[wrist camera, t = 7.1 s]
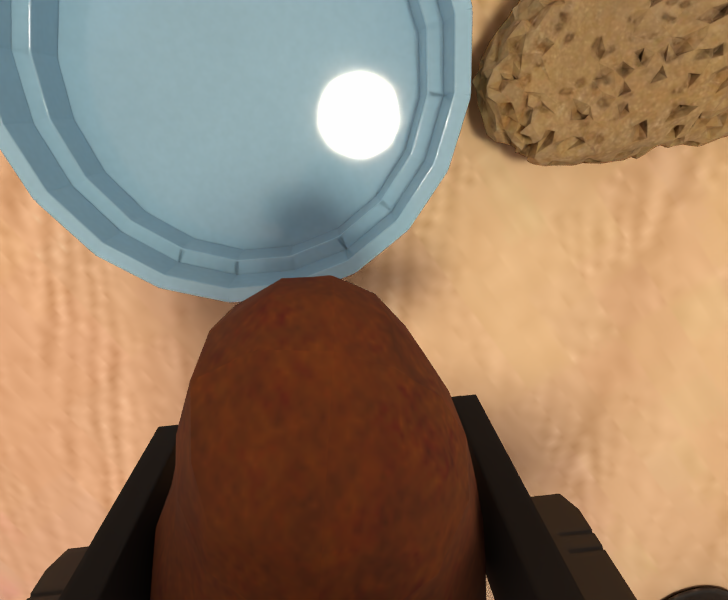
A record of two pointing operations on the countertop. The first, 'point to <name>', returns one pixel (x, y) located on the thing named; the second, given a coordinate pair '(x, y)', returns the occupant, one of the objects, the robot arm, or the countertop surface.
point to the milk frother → (702, 594)
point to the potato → (318, 460)
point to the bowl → (233, 129)
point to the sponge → (605, 78)
